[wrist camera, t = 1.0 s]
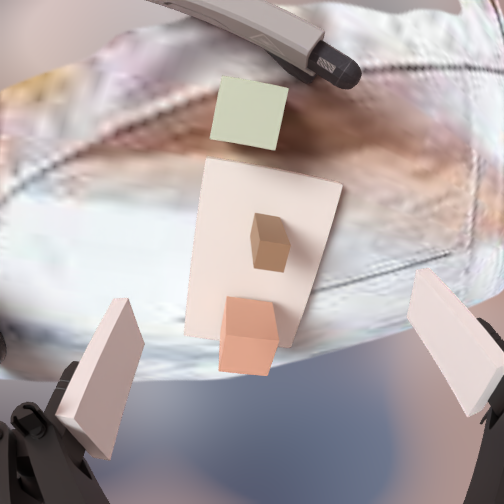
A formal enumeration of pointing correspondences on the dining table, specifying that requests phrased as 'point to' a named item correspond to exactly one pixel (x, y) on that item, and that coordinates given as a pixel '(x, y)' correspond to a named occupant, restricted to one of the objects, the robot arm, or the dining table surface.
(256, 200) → the stand
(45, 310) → the dining table surface
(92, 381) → the robot arm
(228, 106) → the pale green block
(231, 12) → the grey curved bar
